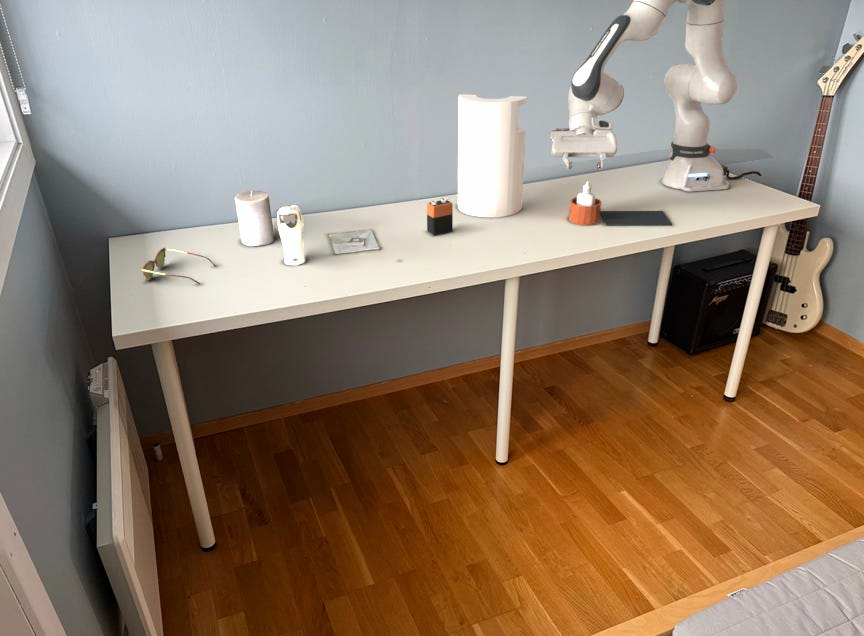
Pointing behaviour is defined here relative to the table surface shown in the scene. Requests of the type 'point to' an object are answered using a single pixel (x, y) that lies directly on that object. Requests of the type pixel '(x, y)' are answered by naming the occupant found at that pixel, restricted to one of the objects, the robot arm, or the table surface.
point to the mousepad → (353, 241)
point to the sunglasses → (162, 264)
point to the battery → (439, 217)
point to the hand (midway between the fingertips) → (584, 168)
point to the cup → (584, 212)
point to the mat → (635, 218)
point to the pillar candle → (254, 218)
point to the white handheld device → (291, 233)
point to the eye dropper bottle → (586, 196)
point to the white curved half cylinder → (490, 156)
